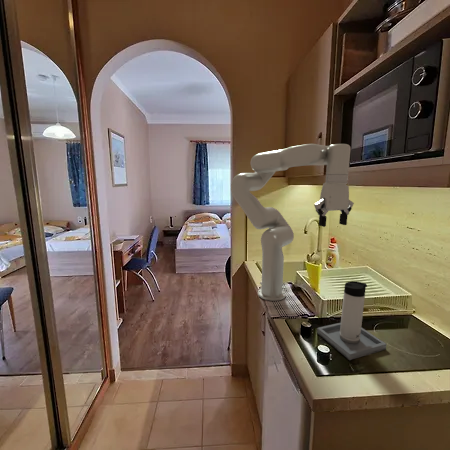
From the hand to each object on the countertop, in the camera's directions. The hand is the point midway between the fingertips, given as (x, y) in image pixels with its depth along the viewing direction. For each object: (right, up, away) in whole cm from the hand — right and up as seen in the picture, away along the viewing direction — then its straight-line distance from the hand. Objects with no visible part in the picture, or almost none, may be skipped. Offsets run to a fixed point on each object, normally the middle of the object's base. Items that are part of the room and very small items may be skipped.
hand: (332, 225), depth 103 cm
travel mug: (+2, -39, -10) cm, 40 cm away
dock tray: (+2, -39, -11) cm, 41 cm away
